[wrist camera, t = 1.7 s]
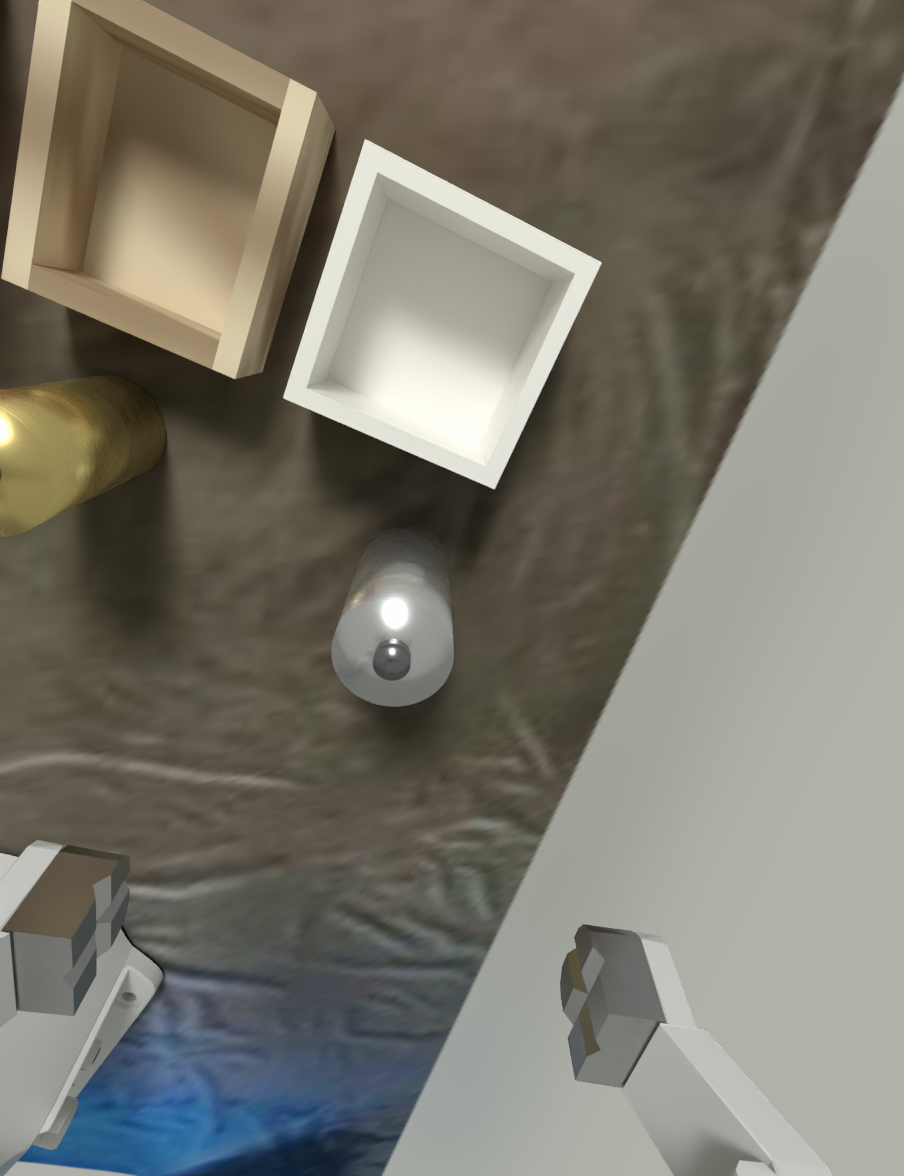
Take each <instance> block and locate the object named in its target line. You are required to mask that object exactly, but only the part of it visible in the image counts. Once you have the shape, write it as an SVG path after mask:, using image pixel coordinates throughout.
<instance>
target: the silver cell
mask: <svg viewBox="0 0 904 1176" xmlns="http://www.w3.org/2000/svg"><path fill="white" fill-rule="evenodd" d="M331 655H332V662H333V665H334V669H335V671H336V673H337V675H338V677H339V678H340V680H341V681H342V683H343V684H344V685H345V686H346V687H347V688H348V689H349V690H350V691H351V692H352V693H354V694H355V695H357V696H358V697H360V698H362V699H364V700H366V701H368V702H371V703H374V704H377V705H382V706H392V707H396V706H406V705H411V704H415V703H418V702H420V701H422V700H424V699H426V698H428V697H430V696H431V695H433V694H434V693H435V692H436V691H437V690H438V689H440V688H441V686H442V685H443V684H444V683H445V681H446V680H447V678H448V676H449V674H450V672H451V669H452V665H453V660H454V648H453V627H452V606H451V585H450V564H449V557H448V554H447V551H446V549H445V547H444V545H443V544H442V542H441V541H440V540H439V539H438V538H437V537H436V536H435V535H434V534H433V533H431V532H430V531H428V530H427V529H425V528H423V527H420V526H417V525H412V524H396V525H391V526H388V527H386V528H384V529H381V530H380V531H378V532H377V533H376V534H374V535H373V536H372V537H371V538H370V539H369V541H368V542H367V543H366V545H365V547H364V549H363V552H362V555H361V558H360V560H359V563H358V566H357V569H356V572H355V575H354V578H353V581H352V584H351V587H350V590H349V593H348V596H347V599H346V602H345V605H344V608H343V611H342V614H341V617H340V620H339V623H338V626H337V629H336V632H335V635H334V638H333V642H332V649H331Z"/></svg>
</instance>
